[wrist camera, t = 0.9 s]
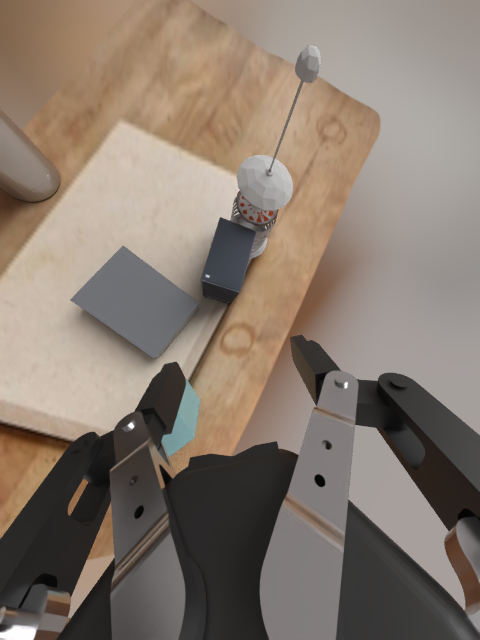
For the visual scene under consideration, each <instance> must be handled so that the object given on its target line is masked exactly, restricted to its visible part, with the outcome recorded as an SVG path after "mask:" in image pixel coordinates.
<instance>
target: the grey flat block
mask: <svg viewBox="0 0 480 640" xmlns="http://www.w3.org/2000/svg"><path fill="white" fill-rule="evenodd" d="M71 301H73V302H74V303H75V304H77V305H78V306H80V307H81V308H83V309H84V310H85V311H87V312H88V313H90V314H91V315H92V316H94V317H95V318H97V319H98V320H100V321H101V322H102V323H104V324H105V325H107V326H108V327H110V328H111V329H112V330H114V331H115V332H117V333H118V334H119V335H121V336H122V337H124V338H125V339H127V340H128V341H129V342H131V343H132V344H134V345H135V346H137V347H138V348H139V349H141V350H142V351H144V352H145V353H146V354H148V355H149V356H151V357H152V358H154V359H155V358H157V357H159V356H161V355H162V354H163V353H164V351H165V350H166V349H167V348H168V346H169V345H170V344H171V343H172V341H173V340H174V339H175V338H176V337H177V335H178V334H179V333H180V332H181V330H182V329H183V328H184V327H185V325H186V324H187V323H188V322H189V320H190V319H191V318H192V317H193V315H194V314H195V313H196V312H197V310H198V309H199V308H200V304H199V303H198V302H197V301H195V300H194V299H193V298H191V297H190V296H189V295H187V294H186V293H185V292H184V291H182V290H181V289H180V288H178V287H177V286H176V285H174V284H173V283H172V282H170V281H169V280H168V279H166V278H165V277H164V276H162V275H161V274H160V273H159V272H157V271H156V270H155V269H153V268H152V267H151V266H149V265H148V264H147V263H145V262H144V261H143V260H141V259H140V258H139V257H137V256H136V255H135V254H134V253H132V252H131V251H130V250H128V249H127V248H126V247H124V246H122V247H121V248H120V249H119V250H118V251H117V252H116V253H115V254H114V255H113V256H112V257H111V258H110V259H109V261H108V262H107V263H106V264H105V265H104V266H103V267H102V268H101V269H100V270H99V271H98V272H97V273H96V274H95V275H94V276H93V277H92V278H91V279H90V280H89V281H88V282H87V283H86V284H85V285H84V286H83V287H82V288H81V289H80V290H79V291H78V292H77V293H76V294H75V295H74V296H73V298H72V299H71Z"/></svg>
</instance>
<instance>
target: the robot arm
mask: <svg viewBox="0 0 480 640" xmlns="http://www.w3.org/2000/svg"><path fill="white" fill-rule="evenodd" d="M59 183H60V176H59V173H58V170H57V169H56V167H55V166H54V165H53V164H52V162H51V161H50V160H49V159H48V158H47V157H46V156H45V155H44V154H43V153H42V152H41V151H40V150H39V149H38V147H37V146H36V145H35V144H34V143H33V142H32V141H31V140H30V139H29V138H28V137H27V136H26V134H25V133H24V132H23V131H22V130H21V129H20V128H19V127H18V126H17V125H16V124H15V123H14V122H13V121H12V119H11V118H10V117H9V116H8V115H7V114H6V113H5V112H4V111H3V110H2V109H1V108H0V188H1V189H2V190H4V191H5V192H7V193H8V194H10V195H11V196H13V197H15V198H17V199H20V200H23V201H29V202H34V201H41V200H44V199H47V198H49V197H50V196H51V195H53V194H54V193H55V192H56V190H57V189H58V187H59ZM290 340H291V350H292V357H293V361H294V364H295V365H296V368H297V370H298V371H299V373H300V375H301V377H302V379H303V381H304V383H305V385H306V387H307V389H308V391H309V393H310V395H311V397H312V399H313V401H314V403H315V404H316V406H317V407H316V408H314V409H313V411H312V414H311V417H310V420H309V424H308V427H307V430H306V434H305V437H304V440H303V444H302V447H301V450H300V454H299V455H297V454H295V453H293V452H290V451H288V450H284V449H278V444H277V442H271V443H266V444H260V445H255V446H253V447H251V448H249V449H247V450H245V451H243V452H241V453H239V454H237V455H235V456H224V455H217V454H207V455H201V456H196V457H191V458H190V461H189V466H188V467H187V468H185V469H183V470H182V471H181V472H179V473H178V474H177V475H176V473H175V471H174V469H173V466H172V464H171V461H170V459H169V456H168V454H167V451H166V448H165V446H164V443H163V442H162V438H163V435H168V434H172V430H173V427H174V424H175V420H176V417H177V414H178V410H179V407H180V404H181V401H182V397H183V394H184V391H185V387H186V379H185V377H184V375H183V373H182V370H181V368H180V366H179V364H178V363H177V362H172V363H168V364H165V365H164V366H163V368H162V370H161V372H160V373H158V374H157V375H156V376H155V377H154V378H153V379H152V381H151V383H150V384H149V387H148V388H147V390H146V392H145V393H144V395H143V397H142V399H141V401H140V402H139V404H138V406H137V408H136V410H135V411H134V412H133V413H130V414H128V415H127V416H125V417H124V418H123V419H122V420H121V421H120V422H119V423H118V424H117V425H116V427H115V429H114V430H113V431H111V432H109V433H107V434H105V435H102V436H100V437H99V436H98V435H97V434H96V433H95V432H89V433H86V434H84V435H82V436H81V437H79V438H78V439H77V440H75V441H74V442H73V443H72V444H71V445H70V446H69V447H68V448H67V450H66V451H65V452H64V454H63V455H62V456H61V458H60V459H59V460H58V462H57V463H56V465H55V466H54V467H53V469H52V470H51V471H50V473H49V474H48V475H47V477H46V478H45V480H44V481H43V482H42V484H41V485H40V486H39V488H38V489H37V490H36V492H35V493H34V494H33V496H32V497H31V499H30V500H29V501H28V503H27V504H26V505H25V507H24V508H23V509H22V511H21V512H20V514H19V515H18V516H17V518H16V519H15V520H14V522H13V523H12V524H11V526H10V527H9V529H8V530H7V531H6V533H5V534H4V535H3V537H2V538H1V539H0V640H480V435H479V434H477V433H476V432H475V431H474V430H473V429H471V428H470V427H469V426H468V425H467V424H465V423H464V422H463V421H462V420H461V419H459V418H458V417H457V416H456V415H455V414H453V413H452V412H451V411H450V410H449V409H447V408H446V407H445V406H444V405H443V404H442V403H440V402H439V401H438V400H437V399H436V398H434V397H433V396H432V395H431V394H430V393H428V392H427V391H426V390H425V389H424V388H422V387H421V386H420V385H419V384H418V383H416V382H415V381H414V380H412V379H411V378H409V377H407V376H404V375H401V374H396V373H384V374H382V375H380V376H379V378H378V381H370V380H358V379H356V378H355V377H354V376H352V375H351V374H349V373H347V372H343V371H341V370H340V369H339V367H338V366H337V365H336V364H335V363H334V362H333V360H332V359H331V358H330V357H329V356H328V354H327V353H326V352H325V351H324V350H323V349H322V347H321V346H320V345H319V344H318V343H316V342H314V341H312V340H310V341H306V339H305V338H304V337H303V335H297V336H293V337H290ZM355 425H361V426H368V427H375V428H377V430H378V431H379V433H380V434H381V435H382V436H383V438H384V440H385V441H386V443H387V444H388V445H389V447H390V448H391V449H392V451H393V452H394V454H395V455H396V457H397V458H398V460H399V461H400V462H401V464H402V465H403V467H404V468H405V470H406V471H407V472H408V474H409V475H410V477H411V478H412V480H413V481H414V482H415V484H416V485H417V486H418V488H419V489H420V491H421V492H422V494H423V495H424V497H425V498H426V499H427V501H428V502H429V504H430V505H431V507H432V508H433V509H434V511H435V512H436V514H437V515H438V517H439V518H440V519H441V521H442V522H443V524H444V525H445V526H446V528H447V529H448V531H449V532H448V533H447V535H446V537H445V541H444V545H445V550H446V554H447V556H448V559H449V561H450V563H451V565H452V567H453V568H454V571H455V572H456V574H457V576H458V578H459V580H460V583H461V585H462V588H463V592H464V596H465V611H464V610H463V609H462V607H461V606H460V605H459V604H458V603H457V602H456V601H455V600H454V598H453V597H452V596H451V595H450V594H449V593H448V592H447V591H446V590H445V589H444V588H443V587H442V586H441V585H440V584H439V583H438V582H437V581H436V580H435V579H433V578H432V577H431V576H430V575H429V574H428V573H427V572H426V571H425V570H424V569H423V568H422V567H420V566H419V565H418V564H417V563H416V562H415V561H414V560H413V559H412V558H411V557H410V556H409V555H408V554H407V553H405V552H404V551H403V550H402V549H401V548H400V547H399V546H398V545H397V544H396V543H395V542H394V541H393V540H392V539H390V538H389V537H388V536H387V535H386V534H385V533H384V532H383V531H382V530H381V529H380V528H379V527H378V526H376V525H375V524H374V523H373V522H372V521H371V520H370V519H369V518H368V517H367V516H366V515H365V514H364V513H362V512H361V511H360V510H359V509H358V508H357V507H356V506H355V505H354V504H353V503H352V502H351V501H350V500H348V497H349V486H350V474H351V464H352V453H353V442H354V430H355ZM83 478H84V479H86V480H87V481H88V484H87V486H86V488H85V490H84V492H83V493H82V495H81V497H80V499H79V501H78V503H77V504H76V506H75V508H74V510H73V512H72V514H71V515H70V516H69V515H68V505H69V503H70V501H71V499H72V497H73V495H74V494H75V492H76V490H77V488H78V487H79V485H80V483H81V481H82V480H83ZM110 502H111V506H112V522H113V539H114V555H115V558H114V559H113V561H112V562H111V564H110V565H109V566H108V568H107V569H106V570H105V572H104V573H103V575H102V576H101V577H100V579H99V580H98V582H97V583H96V584H95V586H94V587H93V588H92V590H91V591H90V593H89V594H88V595H87V597H86V598H85V600H84V601H83V602H82V604H81V605H80V607H79V608H78V609H77V611H76V612H75V614H74V615H73V616H72V618H71V619H70V618H68V615H69V610H70V602H71V599H70V598H71V596H72V593H73V591H74V589H75V586H76V584H77V581H78V579H79V577H80V574H81V572H82V570H83V567H84V565H85V562H86V560H87V558H88V555H89V553H90V550H91V548H92V546H93V543H94V541H95V538H96V536H97V534H98V531H99V529H100V526H101V524H102V522H103V519H104V517H105V514H106V512H107V510H108V507H109V505H110Z"/></svg>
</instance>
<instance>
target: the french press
mask: <svg viewBox="0 0 480 640" xmlns="http://www.w3.org/2000/svg"><path fill="white" fill-rule="evenodd" d="M320 65H321V58H320V52H319V50H318V49H317V47H316V46H310V45H308V46H307V47H306V48H305V49H304V50H303V51H302V52H301V53H300V55H299V57H298V59H297V63H296V67H295V72H296V74H297V76H298V77H299V78H300V79H301V82H300V85H299V88H298V91H297V93H296V96H295V99H294V102H293V105H292V107H291V110H290V113H289V116H288V119H287V121H286V124H285V127H284V130H283V133H282V135H281V138H280V141H279V144H278V147H277V149H276V152H275V155H274V158H272V157H270V156H267V155H255V156H253V157H250V158H247V159H246V160H245V161H244V162H243V163H242V164H241V165H240V167H239V170H238V174H237V181H238V187H239V189H240V191H239V192H238V194H237V197H236V198H235V200H234V204H235V202H236V204H235V205H234V204H233V205H234V207H233V209H234V208H235V206H236V205H237V207H236V208H235V209H234V211H235V210H236V209H237V210H238V211H235V213H234V211H233V210H232V215H231V220H230V221H231V222H234V223H237V224H239V225H242V226H244V227H247V228H250V229H252V230H254V231H256V236H255V240H254V244H253V247H252V251H251V255H250V258H255V257H256V256H258V255H260V254H261V253H262V252H263V251H264V249H265V248H266V244H267V236H268V234H269V233H268V232H270V231H271V229H272V227H273V226H274V224H275V221H276V218H277V213H278V209H279V208H281V207H284V206H285V205H286V204H287V202H288V201H289V200H290V199H291V195H292V191H293V184H292V178H291V176H290V174H289V172H288V170H287V169H286V167H285V166H284V165H283V164H282V163H280V162H279V161H278V160H277V159H275V158H276V155H277V152H278V149H279V147H280V144H281V141H282V139H283V136H284V133H285V131H286V128H287V125H288V122H289V120H290V117H291V114H292V112H293V109H294V106H295V104H296V101H297V98H298V95H299V93H300V90H301V87H302V85H303V82H306V83H312V82H313V81H314V80H315V79H316V77H317V74H318V71H319V68H320ZM238 212H239V213H240V214H237V215H235V216H234V214H236V213H238ZM273 220H275V221H274V224H273ZM270 222H272V227H271V223H270ZM268 223H269V228H270V229H268V225H267V224H268ZM265 225H266V227H267V230H266V228H265Z"/></svg>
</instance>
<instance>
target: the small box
mask: <svg viewBox="0 0 480 640" xmlns="http://www.w3.org/2000/svg"><path fill="white" fill-rule="evenodd" d="M255 236H256V231H254V230H252V229H250V228H247V227H244V226H242V225H239V224H237V223H234V222H231V221H229V220H226V219H223V218H221V217H220V219H219V222H218V226H217V229H216V232H215V235H214V238H213V242H212V245H211V248H210V251H209V255H208V258H207V261H206V264H205V268H204V271H203V274H202V277H201V282H202V288H203V296H205V297H209V298H212V299H216V300H218V301H222V302H224V303H229V304H231V303H232V302H233V300H234V299H235V298H236V296H237V295H238V294H239V293H240V291H241V287H242V284H243V280H244V277H245V273H246V269H247V266H248V262H249V258H250V255H251V251H252V247H253V244H254V240H255Z"/></svg>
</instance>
